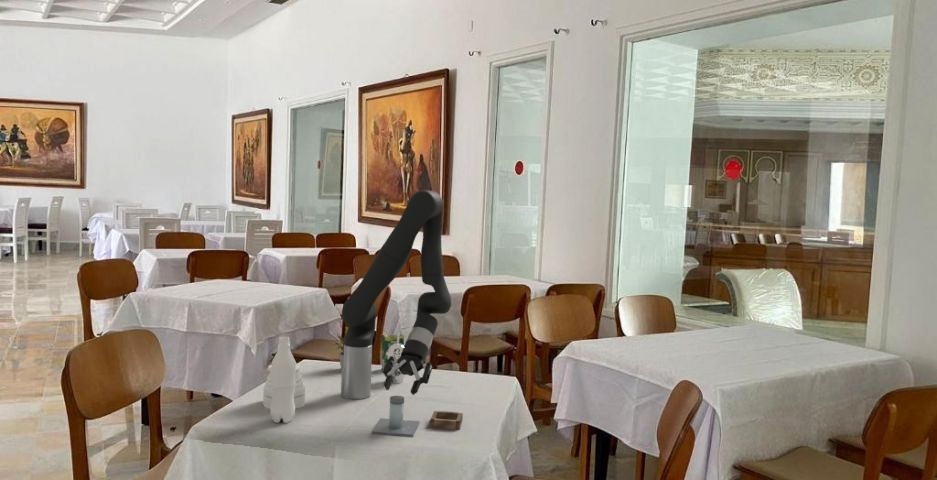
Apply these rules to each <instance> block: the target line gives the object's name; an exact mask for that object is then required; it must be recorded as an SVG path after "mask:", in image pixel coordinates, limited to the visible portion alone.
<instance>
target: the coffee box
mask: <svg viewBox="0 0 937 480" xmlns="http://www.w3.org/2000/svg"><path fill="white" fill-rule="evenodd" d="M381 339H382V343H381V354H382V355H381V370H383V369H384V367H385V365H386V363H387V361H388V356H387V355H386V352H387V351H388V350H389V348H390V346H391V345H393V344H395V343H397V334H391V335H390V334H389V335H387V334H386V335H382V338H381ZM399 343H401V344H403V345H405V336H404V334H402V333H401V334H400V333H399Z"/></svg>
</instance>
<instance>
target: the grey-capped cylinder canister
mask: <svg viewBox="0 0 937 480" xmlns="http://www.w3.org/2000/svg"><path fill="white" fill-rule="evenodd" d="M404 405H405V397H404V396H403V395H391V396H389V418H388V419H389V427H391V428H401V427H403V420H404V409H405V408H404Z"/></svg>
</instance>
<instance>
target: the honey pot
mask: <svg viewBox="0 0 937 480" xmlns="http://www.w3.org/2000/svg"><path fill="white" fill-rule="evenodd" d="M278 348H279V346H278V345H277V349H278ZM300 369H301V366H300V365H298V364H297V363H296V376H295V382H296V386H295V390H294V404H295V410H296V409H298V408H301V407H303V406H304V405H305V404H306V402H305V401H306V393H305V392H306V387H305V386H306V385H305V384H304V380H303V376H302V375H301V372H300ZM267 370H268V372H269V374H268V376H267V378H266V381H265V385H264V386H263V397H262V399H263V400H262V401H263V402H262V405H263V407H265V408H267V409H269V410H270V407H271V403H272V389H271V373H272V367H271V364H270V365H269V366H268V367H267Z"/></svg>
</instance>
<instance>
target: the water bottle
mask: <svg viewBox="0 0 937 480" xmlns="http://www.w3.org/2000/svg"><path fill="white" fill-rule="evenodd" d="M278 346H279V348H278ZM290 346H291V342H290V336H279V338H278V344H277V352H276V353H275V356H274V357H273V359H272V361H271V364H270V365H271V367H272V368H271V369H272V373H271V389H272V403H271V407H270V409H269V410H270V411H269V414H270V417H271V419H272V421H273V422H274V423H276V424H279V423H280V422H281V420H282V421H283V423H284V424H287V423H290V422H291V421H293V419H294V418H295V414H296V409H295V404H294V390H295V386H296V382H295V376H296V364H297V362H296V360H295V358H294V355H293V352H291V351H292V350H291V347H290Z"/></svg>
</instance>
